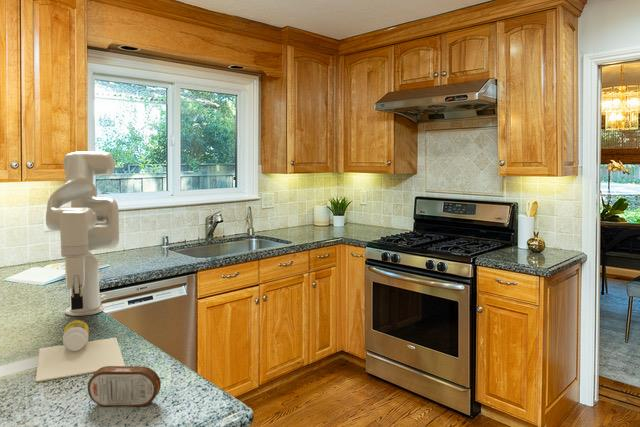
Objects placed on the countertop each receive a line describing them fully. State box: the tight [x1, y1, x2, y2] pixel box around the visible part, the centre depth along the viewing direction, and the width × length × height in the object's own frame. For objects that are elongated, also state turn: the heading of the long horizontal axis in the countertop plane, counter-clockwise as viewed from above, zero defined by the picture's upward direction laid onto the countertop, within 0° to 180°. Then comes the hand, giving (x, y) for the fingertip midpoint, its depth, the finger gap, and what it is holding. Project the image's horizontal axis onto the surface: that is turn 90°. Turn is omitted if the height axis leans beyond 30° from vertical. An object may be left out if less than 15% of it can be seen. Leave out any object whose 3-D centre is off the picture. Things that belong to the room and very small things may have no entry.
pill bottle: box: [62, 319, 90, 351], centre depth 139 cm, size 6×6×12 cm
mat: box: [35, 337, 126, 383], centre depth 132 cm, size 24×20×1 cm
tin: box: [87, 365, 162, 407], centre depth 105 cm, size 15×3×8 cm, turn 92°
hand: (77, 308), depth 152 cm, fingers closed
